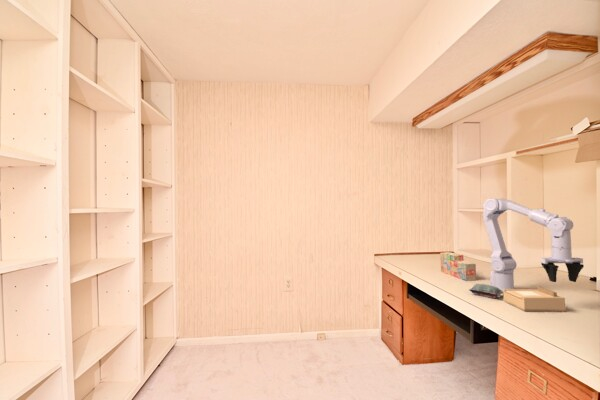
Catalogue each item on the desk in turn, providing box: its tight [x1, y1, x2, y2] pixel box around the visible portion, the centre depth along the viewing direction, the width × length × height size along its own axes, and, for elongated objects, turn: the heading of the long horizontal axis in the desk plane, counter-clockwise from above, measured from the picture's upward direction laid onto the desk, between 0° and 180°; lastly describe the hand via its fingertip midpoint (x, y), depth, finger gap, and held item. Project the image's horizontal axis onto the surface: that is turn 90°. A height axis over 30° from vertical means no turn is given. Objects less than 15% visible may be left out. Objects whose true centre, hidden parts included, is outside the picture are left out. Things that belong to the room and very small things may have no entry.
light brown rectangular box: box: [502, 288, 566, 313], centre depth 107 cm, size 11×15×5 cm
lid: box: [506, 286, 561, 299], centre depth 107 cm, size 8×15×2 cm, turn 88°
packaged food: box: [468, 283, 504, 299], centre depth 121 cm, size 9×12×5 cm
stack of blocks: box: [439, 251, 477, 282], centre depth 155 cm, size 21×6×12 cm, turn 7°
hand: (562, 281), depth 106 cm, fingers open, 7 cm apart
